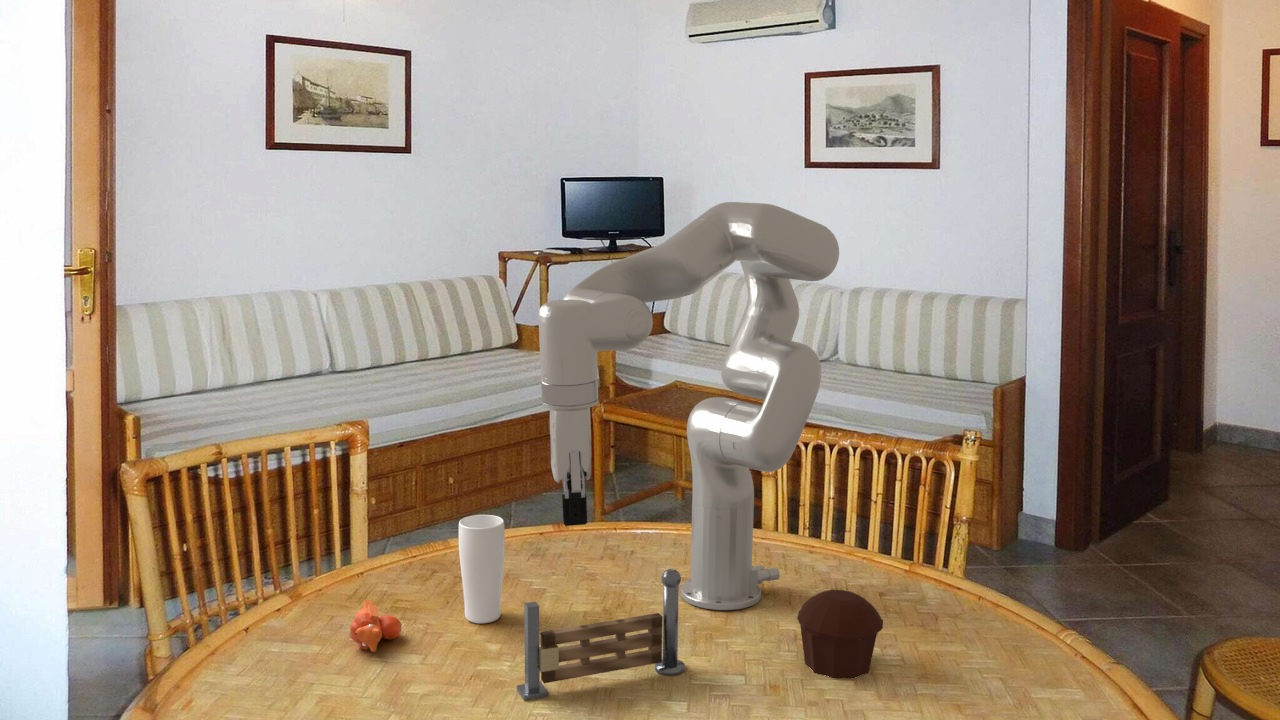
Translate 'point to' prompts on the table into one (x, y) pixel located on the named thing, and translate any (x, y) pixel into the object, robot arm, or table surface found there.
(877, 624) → the muffin
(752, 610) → the table surface
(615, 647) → the gate
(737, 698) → the table surface
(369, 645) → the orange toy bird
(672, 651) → the hinge post
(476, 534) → the drinking glass
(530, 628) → the post
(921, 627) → the table surface
